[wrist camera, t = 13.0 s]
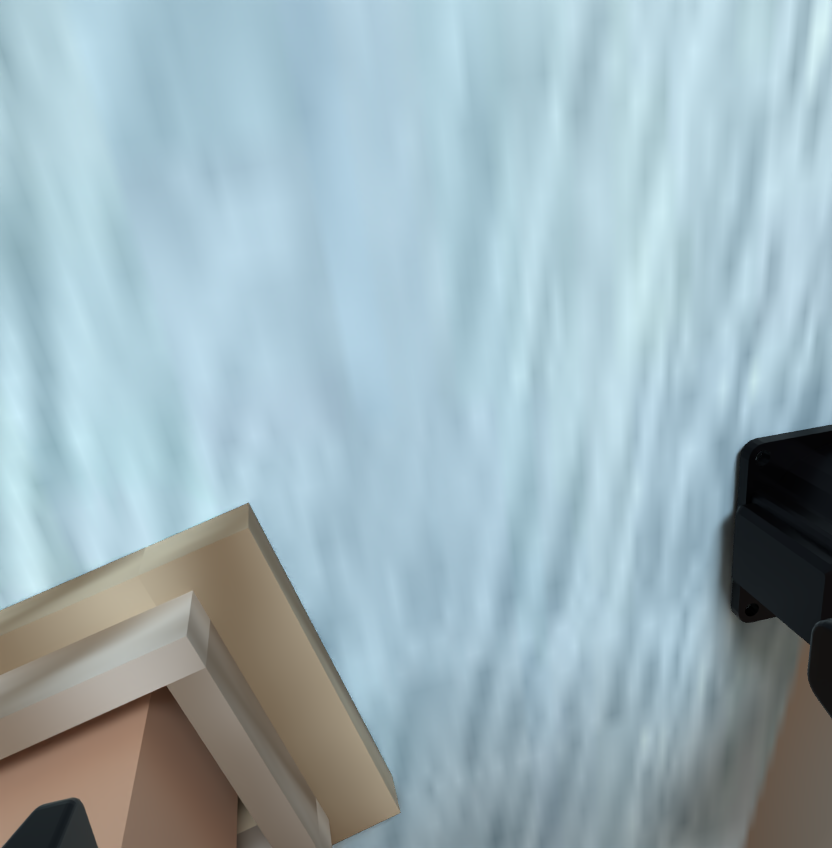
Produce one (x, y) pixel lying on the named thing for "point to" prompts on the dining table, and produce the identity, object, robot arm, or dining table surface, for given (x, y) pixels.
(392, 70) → the dining table surface
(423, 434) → the dining table surface
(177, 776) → the terracotta peg
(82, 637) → the plate
